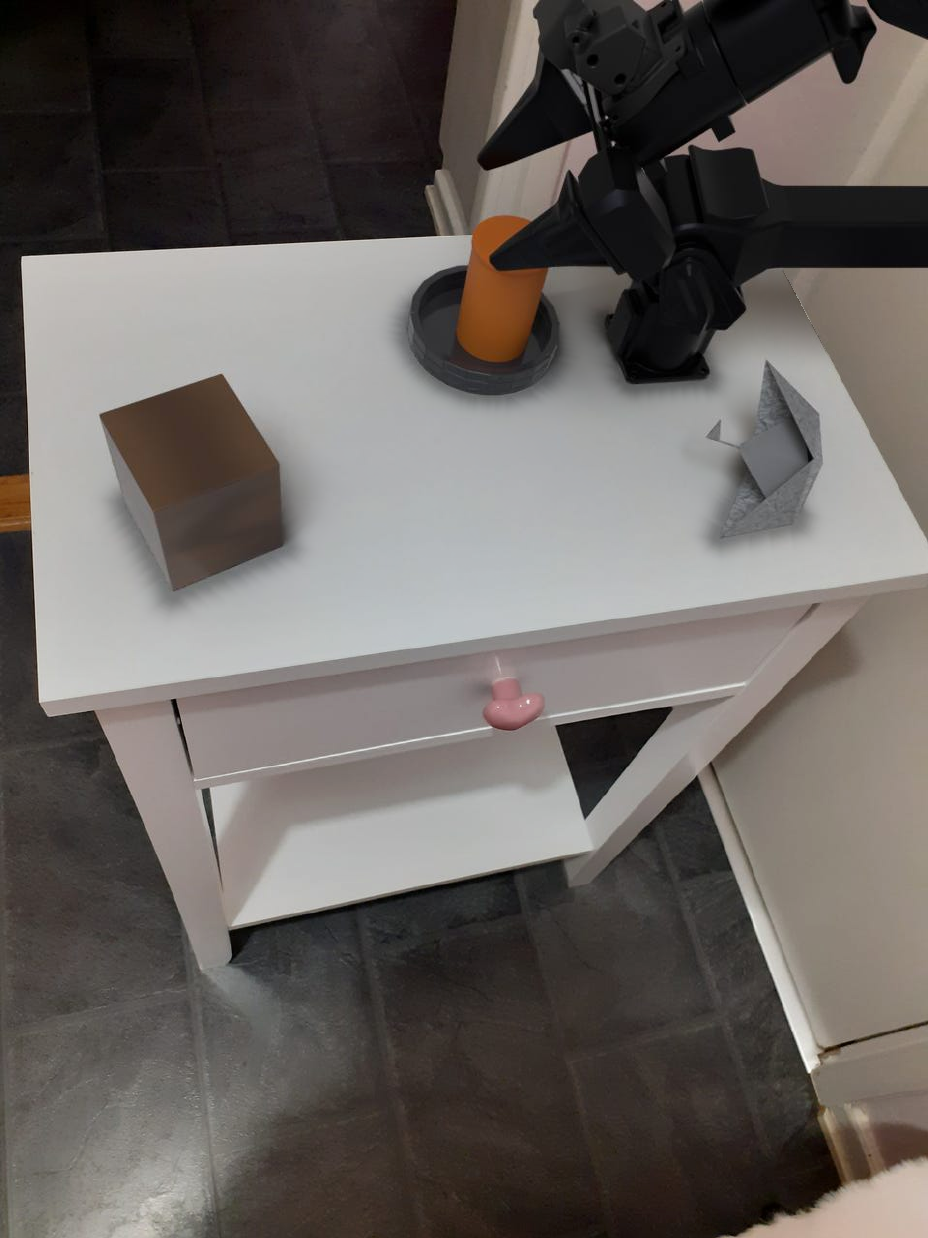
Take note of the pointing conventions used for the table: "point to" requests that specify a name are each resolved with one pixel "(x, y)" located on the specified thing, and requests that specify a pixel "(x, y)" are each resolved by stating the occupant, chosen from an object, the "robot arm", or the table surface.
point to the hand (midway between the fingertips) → (486, 212)
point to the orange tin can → (497, 296)
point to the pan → (451, 362)
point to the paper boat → (776, 459)
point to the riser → (196, 479)
